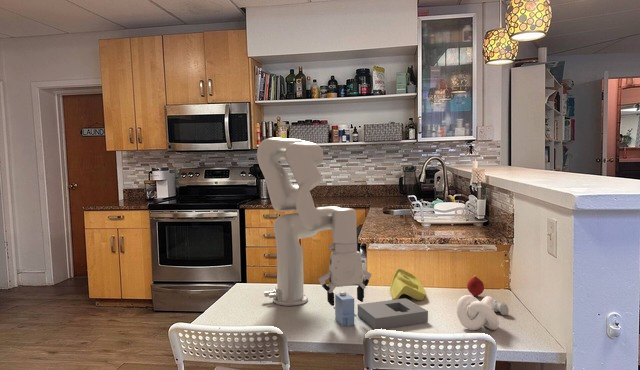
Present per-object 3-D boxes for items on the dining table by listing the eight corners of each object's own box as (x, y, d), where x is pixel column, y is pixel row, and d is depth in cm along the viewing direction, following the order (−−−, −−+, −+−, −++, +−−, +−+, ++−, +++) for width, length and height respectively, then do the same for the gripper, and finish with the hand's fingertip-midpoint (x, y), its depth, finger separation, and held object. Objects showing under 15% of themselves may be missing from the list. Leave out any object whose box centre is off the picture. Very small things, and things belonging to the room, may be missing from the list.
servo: (344, 327, 120) (344, 299, 120) (333, 316, 129) (333, 290, 129) (356, 326, 122) (356, 297, 121) (344, 315, 131) (344, 288, 130)
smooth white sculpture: (485, 312, 136) (498, 306, 137) (498, 320, 129) (512, 314, 129) (481, 300, 136) (494, 295, 137) (494, 307, 128) (508, 302, 129)
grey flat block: (375, 330, 118) (375, 318, 118) (357, 315, 131) (357, 304, 130) (427, 322, 124) (427, 311, 124) (405, 308, 136) (405, 298, 136)
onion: (485, 295, 150) (485, 274, 149) (482, 300, 145) (482, 278, 144) (468, 293, 153) (469, 272, 152) (465, 297, 148) (465, 276, 148)
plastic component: (427, 295, 143) (402, 283, 143) (418, 313, 144) (393, 301, 144) (417, 276, 163) (395, 265, 163) (409, 292, 164) (387, 281, 164)
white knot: (463, 316, 129) (464, 289, 129) (504, 324, 122) (504, 295, 122) (453, 327, 120) (453, 298, 120) (496, 337, 113) (496, 306, 113)
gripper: (322, 252, 118) (323, 309, 118) (375, 247, 123) (376, 302, 124) (314, 248, 125) (315, 302, 125) (365, 244, 131) (366, 295, 131)
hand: (346, 302), depth 125 cm, fingers open, 9 cm apart
